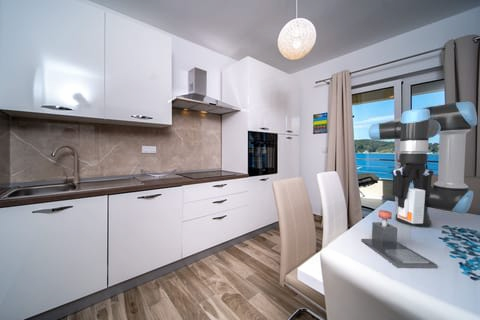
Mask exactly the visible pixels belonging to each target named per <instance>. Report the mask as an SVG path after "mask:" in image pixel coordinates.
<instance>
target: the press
mask: <svg viewBox="0 0 480 320" xmlns="http://www.w3.org/2000/svg"><path fill="white" fill-rule="evenodd" d="M371 225H372V227H371V238H361V239H360V240H361V242H362V243H363V244H364V245H365V246H366V247H368V248H370V249H371V250H372V251H374V252H375V253H376V254H378V255H379V256H381V257H382V258H383V259H385V260H386V261H387V260H388V261H387V262H389V263H390V264H391V263H392V266H394V267H396V268H397V269H438V264H437V263H435V262H433V261H432V260H430V259H428V258H426V257H424V256H423V255H421V254H419V253H418V252H416V251H414V250H413V249H410V248H409V247H407V246H406V245H404V244H402V243H400V242H398V227H396V226H395V225H393V224H391V223H388V222H387V226H382V221H381V222H379V221H378V222H374V221H373V222H372V224H371Z"/></svg>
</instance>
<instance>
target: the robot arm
mask: <svg viewBox="0 0 480 320" xmlns="http://www.w3.org/2000/svg"><path fill="white" fill-rule="evenodd" d="M477 125H478V115H477V110H476V107H475V105H474V103H473V102H472V101H460V102H459V101H458V102H453V103H447V104H440V105H433V106H426V107H422V108H415V109H408V110H404V111H403V112H402V113H401V117H398V118H395V119H391V120H390V121H386V122H380V123H379V122H378V123H374V124H373V123H372V124H371V125H370V126H369V128H368V137H369V138H370V140H372V141H381V140H383V141H384V140H400V142H399V152H400V153H399V156H398V157H399V159H398V160H399V161H398V163H399V164H400V166H399V168H397V169H392V170H391V175H392V193H391V194H392V196H393V197H396V198H397V208H398V207H399V215H401V216H403V217H407V216H408V199H406V197H407V193H408V189H409V187H410V188H416V189H421V190H425V202H424V216H423V223H422V224H412V223H410V222H408V221H405V220H403V219H400V218H398V217H397V215H398V211H397V212H396V214H395V221H397V222H399V223H402V224H404V225H407V226H413V227H419V228H431V227H432V220H431V219H430V214H429V212H428V211H429V208H431V209H436V210H441V211H446V212H451V213H458V214H466V213H467V212H469V209H470V208H471V206H472V201H473V198H474V191H473V190H471V189H469V186H468V184H466V183H465V164H466V163H465V159H466V140H467V139H466V138H467V133H469V132H470V131H472V127H474V126H477ZM437 135H439V141H438V143H439V144H438V145H439V146H438V168H437V169H438V171H437V172H438V173H437V181H435V182H434V183H433V185H432V177H433V175H434V173H435V171H433V170H431V169H430V170H429V169H427V168H426V165H427V164H428V162H429V159H428V157H429V154H428V152H429V139H431V138H434V137H436V136H437Z"/></svg>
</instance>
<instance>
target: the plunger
mask: <svg viewBox="0 0 480 320" xmlns="http://www.w3.org/2000/svg"><path fill="white" fill-rule="evenodd" d="M392 214H393V213H392V212H391V211H389V210H388V211H387V210H381V209H380V210H378V218H380V219H381V222H382V226H387V223H388V220H392V216H393V215H392Z"/></svg>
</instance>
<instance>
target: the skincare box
mask: <svg viewBox="0 0 480 320" xmlns="http://www.w3.org/2000/svg"><path fill="white" fill-rule="evenodd" d="M406 199H408V216H407V217H403V216H401V215H399V207H398V206H397V212H398V215H397V217H398V218H400V219H403V220H405V221H408V222H410V223H412V224H422V223H423V216H424V202H425V190H421V189H416V188H410V187H409V189H408V193H407V197H406Z"/></svg>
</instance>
